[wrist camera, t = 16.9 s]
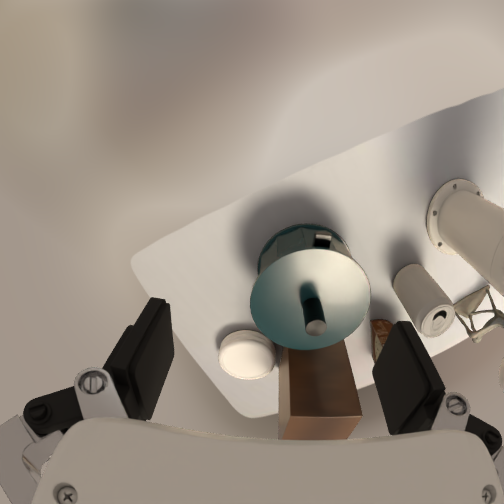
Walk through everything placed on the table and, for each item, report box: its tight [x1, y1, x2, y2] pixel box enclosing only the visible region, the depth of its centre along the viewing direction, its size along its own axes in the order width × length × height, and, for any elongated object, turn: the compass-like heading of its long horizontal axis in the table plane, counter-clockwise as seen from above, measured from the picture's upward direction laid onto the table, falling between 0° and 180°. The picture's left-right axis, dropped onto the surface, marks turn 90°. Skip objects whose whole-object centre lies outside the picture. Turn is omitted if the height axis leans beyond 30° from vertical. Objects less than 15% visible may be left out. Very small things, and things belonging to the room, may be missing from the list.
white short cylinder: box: [218, 330, 275, 380], centre depth 50 cm, size 10×10×4 cm
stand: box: [278, 339, 363, 440], centre depth 43 cm, size 10×10×18 cm
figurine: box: [453, 285, 504, 343], centre depth 38 cm, size 11×6×15 cm, turn 112°
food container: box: [370, 319, 393, 363], centre depth 44 cm, size 12×6×10 cm, turn 17°
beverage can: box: [393, 264, 455, 338], centre depth 38 cm, size 6×6×12 cm
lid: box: [250, 247, 371, 350], centre depth 33 cm, size 15×15×5 cm
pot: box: [258, 224, 352, 276], centre depth 40 cm, size 14×17×9 cm
